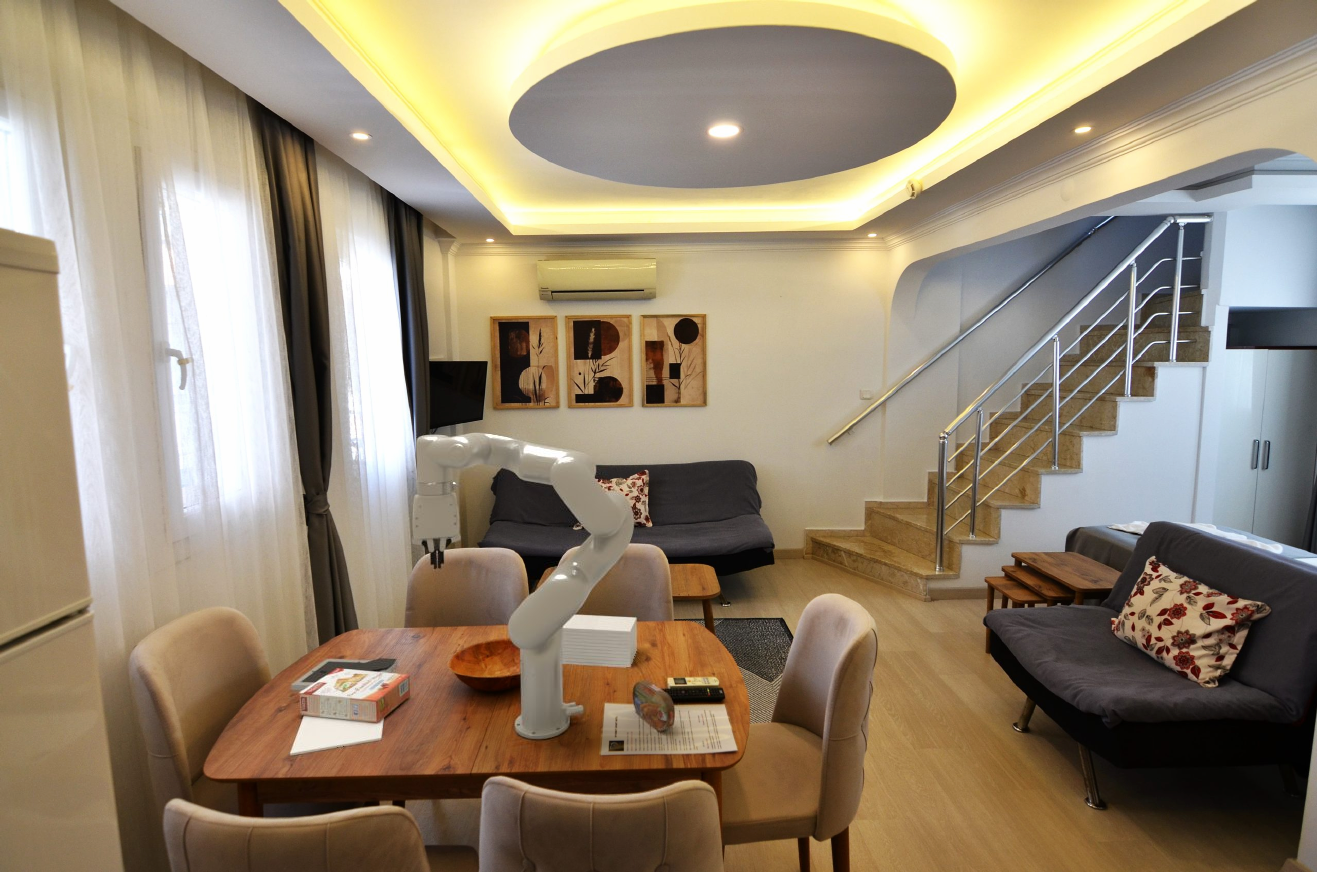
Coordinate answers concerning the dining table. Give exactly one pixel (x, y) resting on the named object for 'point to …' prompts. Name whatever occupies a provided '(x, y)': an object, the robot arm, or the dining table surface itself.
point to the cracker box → (355, 695)
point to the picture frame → (332, 664)
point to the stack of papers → (599, 641)
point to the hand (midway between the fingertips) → (437, 567)
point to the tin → (653, 705)
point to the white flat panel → (333, 733)
